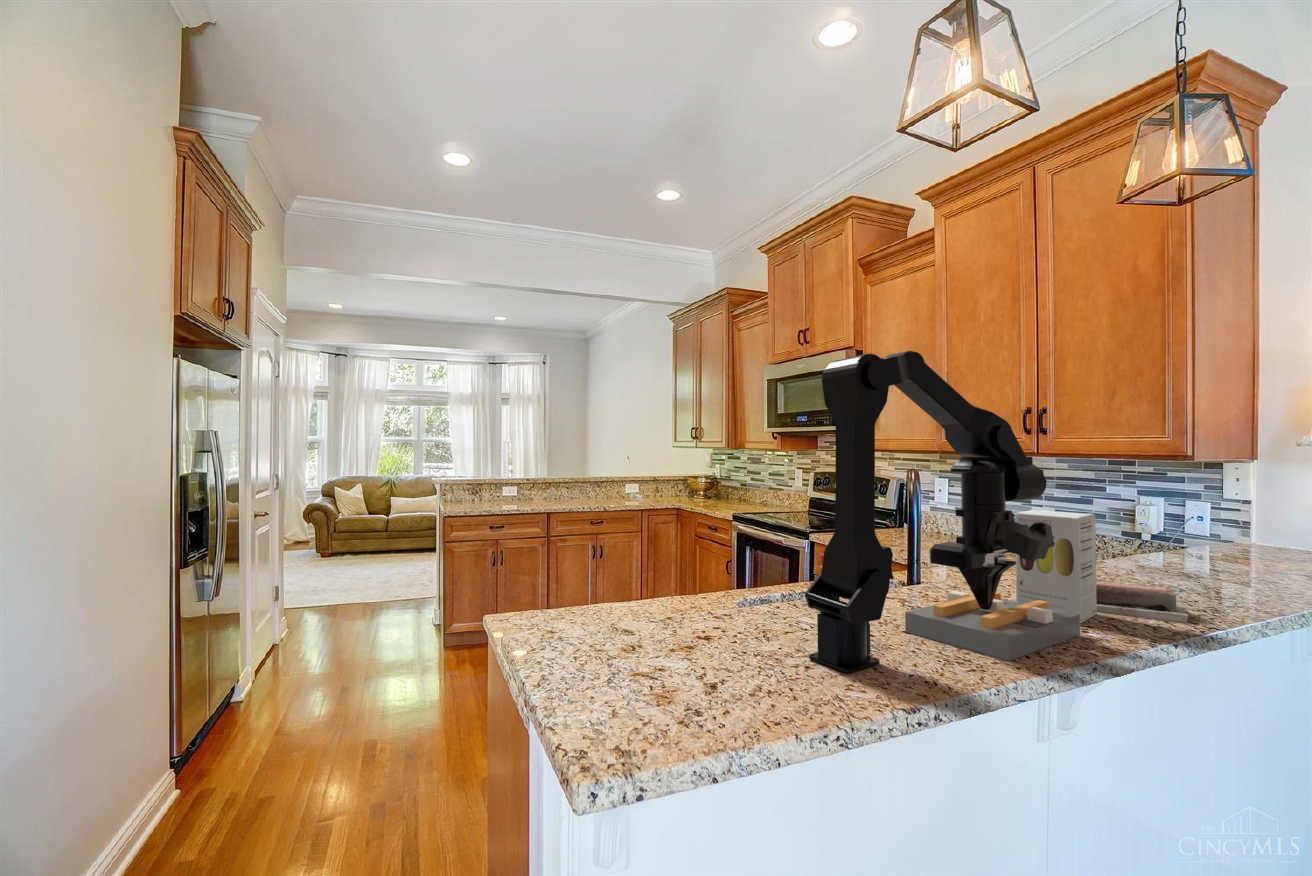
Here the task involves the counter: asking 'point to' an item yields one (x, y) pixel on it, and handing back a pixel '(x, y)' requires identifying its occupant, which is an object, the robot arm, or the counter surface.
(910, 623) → the breaker panel
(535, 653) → the counter surface
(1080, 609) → the supplement box
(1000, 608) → the block
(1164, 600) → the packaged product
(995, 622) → the orange bar
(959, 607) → the orange wooden bar
